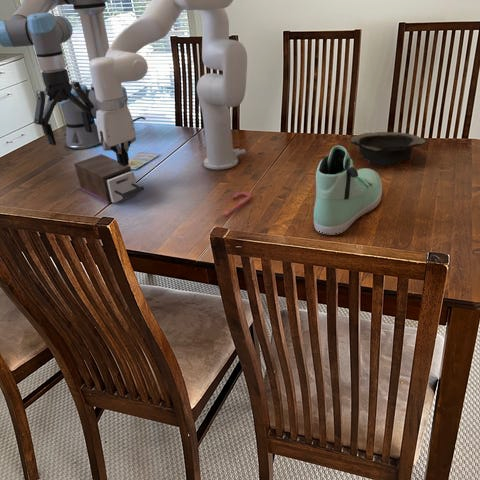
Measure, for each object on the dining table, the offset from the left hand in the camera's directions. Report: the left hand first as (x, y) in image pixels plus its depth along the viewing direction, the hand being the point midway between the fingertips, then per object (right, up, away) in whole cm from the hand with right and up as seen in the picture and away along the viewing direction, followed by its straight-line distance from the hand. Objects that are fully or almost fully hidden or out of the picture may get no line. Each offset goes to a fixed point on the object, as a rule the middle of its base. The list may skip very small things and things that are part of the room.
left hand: (71, 137), depth 155 cm
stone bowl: (+105, -5, +13) cm, 106 cm away
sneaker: (+86, -24, -16) cm, 91 cm away
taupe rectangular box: (+10, -17, +6) cm, 20 cm away
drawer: (+14, -18, +2) cm, 23 cm away
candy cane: (+53, -23, -10) cm, 59 cm away
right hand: (+19, -10, -10) cm, 24 cm away
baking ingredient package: (+16, -3, +27) cm, 31 cm away
